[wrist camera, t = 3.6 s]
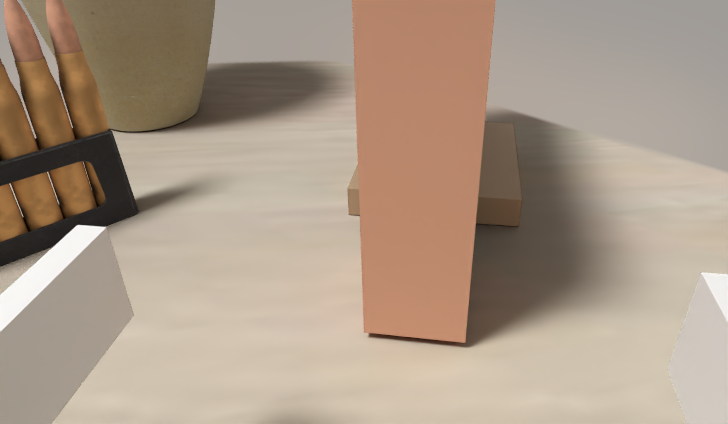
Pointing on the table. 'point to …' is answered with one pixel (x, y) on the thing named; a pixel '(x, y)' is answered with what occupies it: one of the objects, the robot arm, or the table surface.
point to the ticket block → (484, 179)
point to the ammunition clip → (54, 142)
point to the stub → (419, 159)
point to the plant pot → (141, 55)
